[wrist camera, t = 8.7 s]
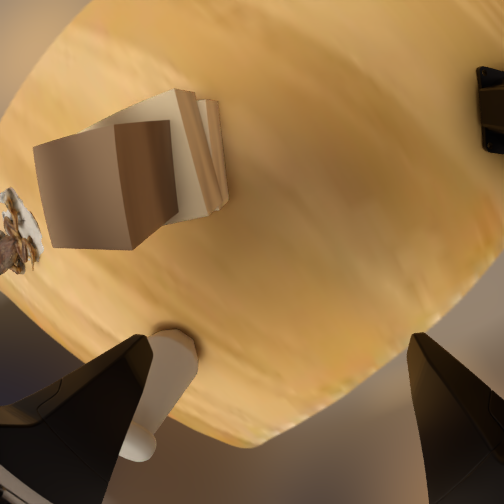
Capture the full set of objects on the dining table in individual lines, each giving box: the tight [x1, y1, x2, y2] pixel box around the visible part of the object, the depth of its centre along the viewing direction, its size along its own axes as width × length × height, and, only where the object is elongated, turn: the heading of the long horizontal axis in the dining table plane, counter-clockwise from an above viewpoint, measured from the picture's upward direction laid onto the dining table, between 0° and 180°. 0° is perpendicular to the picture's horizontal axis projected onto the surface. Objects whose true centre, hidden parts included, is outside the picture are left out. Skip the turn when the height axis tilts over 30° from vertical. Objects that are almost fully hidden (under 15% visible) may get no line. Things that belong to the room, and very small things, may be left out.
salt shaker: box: [119, 329, 198, 462], centre depth 22 cm, size 6×6×13 cm
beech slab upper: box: [77, 89, 223, 226], centre depth 16 cm, size 7×7×3 cm
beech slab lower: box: [197, 99, 229, 211], centre depth 19 cm, size 7×7×3 cm
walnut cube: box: [33, 120, 179, 250], centre depth 13 cm, size 5×5×5 cm
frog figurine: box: [0, 187, 44, 275], centre depth 26 cm, size 12×12×4 cm
